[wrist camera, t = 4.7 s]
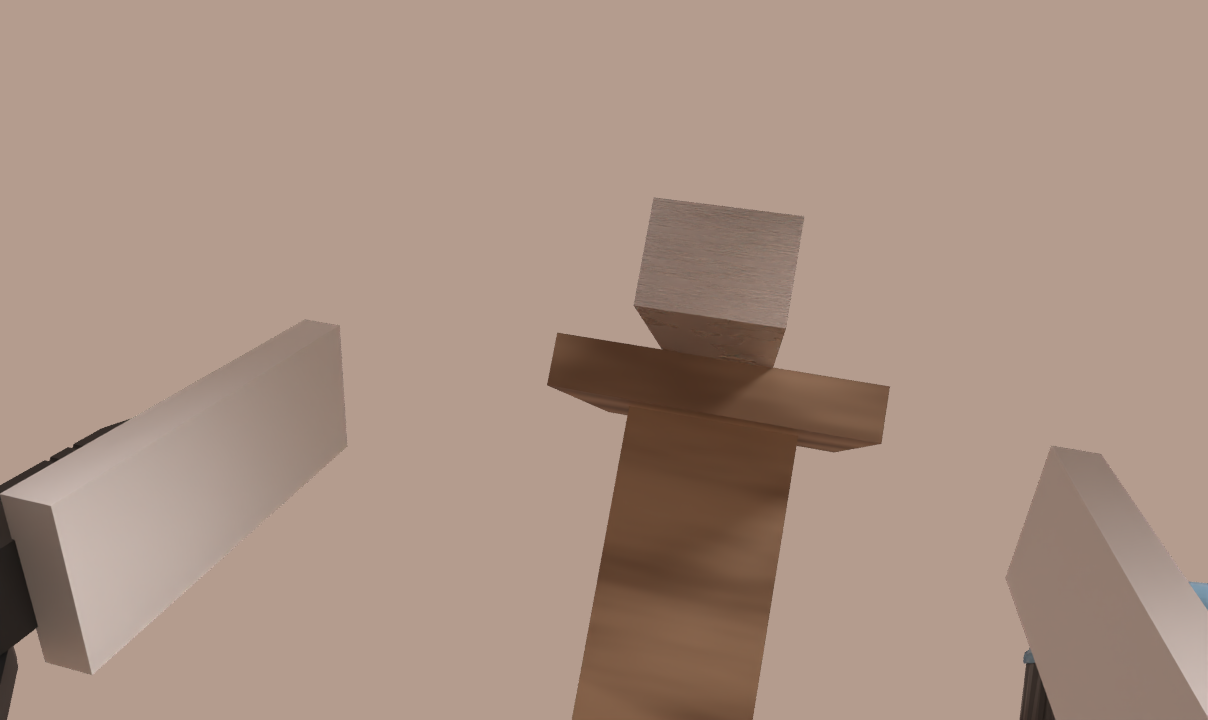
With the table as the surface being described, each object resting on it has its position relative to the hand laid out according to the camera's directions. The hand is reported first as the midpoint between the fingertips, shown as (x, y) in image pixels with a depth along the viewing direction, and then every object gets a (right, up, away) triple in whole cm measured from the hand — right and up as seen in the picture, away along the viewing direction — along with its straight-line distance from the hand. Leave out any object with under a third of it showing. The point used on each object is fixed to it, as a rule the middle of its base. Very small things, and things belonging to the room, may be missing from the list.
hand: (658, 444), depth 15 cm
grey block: (+4, +1, +18) cm, 18 cm away
